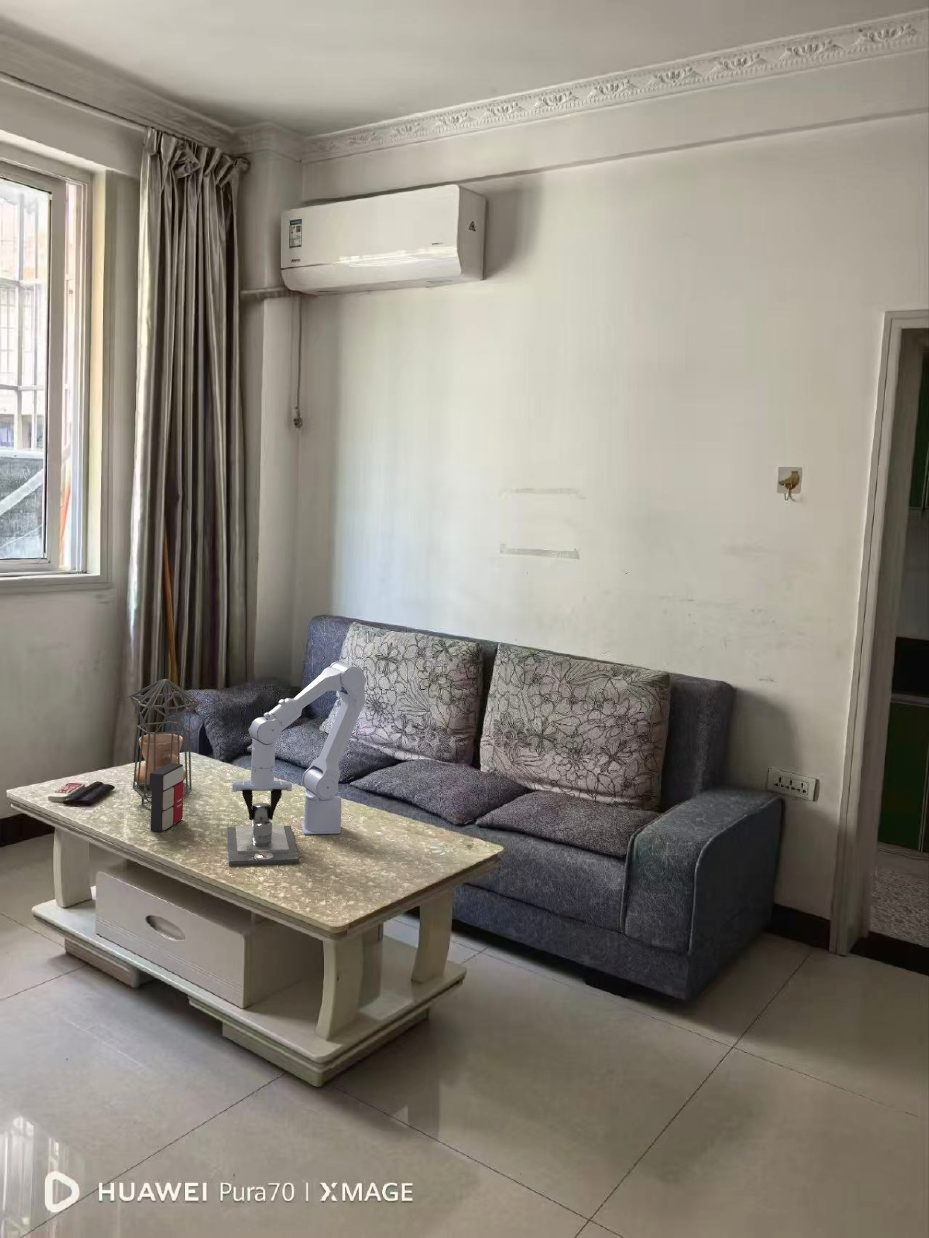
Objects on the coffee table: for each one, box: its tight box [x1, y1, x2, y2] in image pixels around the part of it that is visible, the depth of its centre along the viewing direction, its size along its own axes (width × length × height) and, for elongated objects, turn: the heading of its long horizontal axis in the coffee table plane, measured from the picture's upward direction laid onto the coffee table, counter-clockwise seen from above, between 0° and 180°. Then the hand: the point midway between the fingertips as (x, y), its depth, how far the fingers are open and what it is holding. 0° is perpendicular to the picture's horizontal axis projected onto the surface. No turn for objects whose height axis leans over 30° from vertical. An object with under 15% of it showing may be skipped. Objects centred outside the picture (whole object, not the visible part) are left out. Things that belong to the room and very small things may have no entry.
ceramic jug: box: [135, 733, 186, 789], centre depth 287 cm, size 18×14×14 cm
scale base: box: [226, 825, 300, 867], centre depth 244 cm, size 16×24×2 cm, turn 14°
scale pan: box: [234, 824, 289, 853], centre depth 245 cm, size 12×18×1 cm, turn 14°
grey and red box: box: [148, 763, 185, 833], centre depth 254 cm, size 11×4×15 cm, turn 168°
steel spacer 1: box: [251, 802, 271, 827], centre depth 250 cm, size 4×4×5 cm
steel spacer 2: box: [253, 821, 273, 847], centre depth 241 cm, size 4×4×5 cm
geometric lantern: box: [126, 678, 202, 811], centre depth 268 cm, size 16×16×35 cm
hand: (260, 818), depth 250 cm, fingers closed on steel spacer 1, 4 cm apart
